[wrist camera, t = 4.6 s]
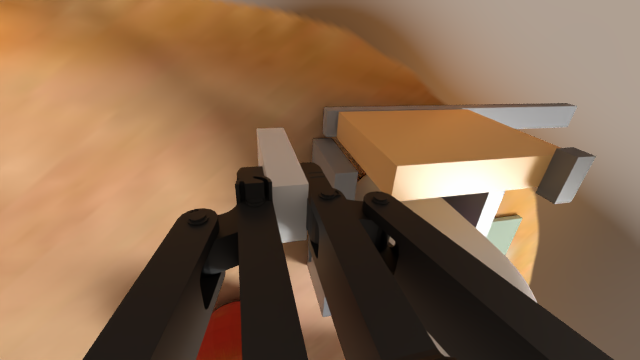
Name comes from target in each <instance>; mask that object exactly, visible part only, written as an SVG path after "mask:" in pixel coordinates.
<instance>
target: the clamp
mask: <svg viewBox="0 0 640 360" xmlns="http://www.w3.org/2000/svg"><path fill="white" fill-rule="evenodd" d="M576 108H577V106H575V105H571V104H568V103H557V104H493V105H428V106H364V107H324V116H323V134H324V135H325V136H326V137H337V127H338V115H339V112H354V111H405V110H455V109H468V110H470V111H473V112H475V113H478V114H480V115H483V116H485V117H488V118H490V119H492V120H495V121H497V122H500V123H502V124H505V125H507V126H509V127H512V128H514V129H530V128H552V127H553V128H555V127H568V125H569V123H570V120H571V118H572V117H573V114H574V112H575V110H576ZM312 162H314V163H315V164H317V165H318V166H320V167H321V169H322V171H323V173H324V174H325V177H326V178H327V179H328V181H329V183H330V185H331V186H332V188H335V189H337V190H339V191H341V192H342V193H343V194H344V196H345V198H346V199H348V200H355V193H356V185H357V177H358V171H357V170H356V169H355V167H354V166H353V165H352V164H351V162H350V161H349V160H348V159H347V157H346V156H345V155H344V154H343V152H342V151H341V150H340V149H339V147H338V146H337V145H336V144H335V142H334V141H333V140H332V138H321V139H313V149H312ZM504 193H505V190H504V191H494V192H485V193H475V194H465V195H456V196H446V197H441V198H443V199H444V200H445V201H446V202H447V203H448V204H449V205H451V206H452V207H453V208H454V209H455V210H456V211H457V212H458V213H460V214H461V215H462V216H463V217H464V218H465V219H466V220H467V221H468V222H470V223H471V224H472V225H473V226H474V227H475V228H476V229H477V230H478V231H479V232H481V233H482V234H483V235H484V236H485V237H487V234H488V232H489V229H490V227H491V224H492V222H493V220H494V217H495V215H496V212H497V210H498V207H499V205H500V203H501V200H502V198H503V195H504ZM308 257H309V239H308ZM307 266H308V270H309V273H310V276H311V280H312V283H313V286H314V290H315V293H316V296H317V300H318V303H319V306H320V310H321V313H322V316H323V317H327V316H331V313H330V310H329V307H328V304H327V301H326V298H325V295H324V292H323V289H322V286H321V282H320V279H319V276H318V273H317V270H316V267H315V264H314V261H313V258H312V257H311V262H309V259H308V261H307Z"/></svg>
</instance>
